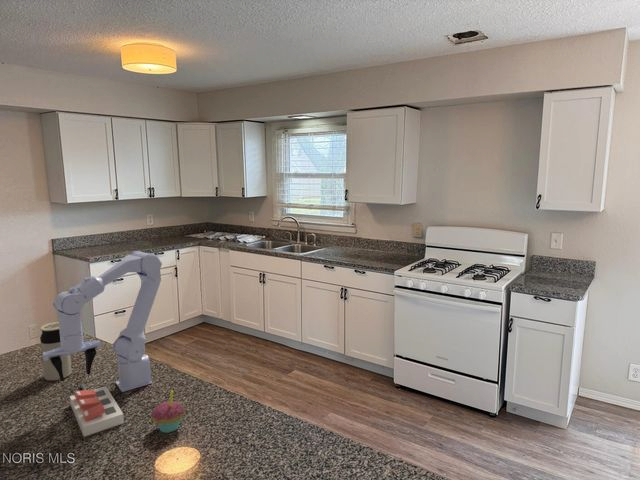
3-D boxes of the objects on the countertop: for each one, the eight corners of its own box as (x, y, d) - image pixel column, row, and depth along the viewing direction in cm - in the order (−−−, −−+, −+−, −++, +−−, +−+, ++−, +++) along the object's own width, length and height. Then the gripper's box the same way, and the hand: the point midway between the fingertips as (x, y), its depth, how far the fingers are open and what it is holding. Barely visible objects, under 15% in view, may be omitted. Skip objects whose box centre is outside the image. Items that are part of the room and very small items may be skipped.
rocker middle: (97, 401, 126) (97, 396, 126) (100, 406, 123) (100, 402, 123) (78, 403, 123) (78, 399, 123) (80, 409, 120) (81, 404, 120)
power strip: (99, 381, 143) (98, 373, 143) (123, 423, 120) (123, 413, 120) (64, 391, 137) (63, 382, 137) (83, 436, 114) (82, 426, 113)
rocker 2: (102, 406, 121) (101, 402, 121) (105, 412, 119) (104, 408, 118) (83, 415, 119) (82, 411, 118) (86, 421, 116) (84, 417, 115)
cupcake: (191, 422, 120) (189, 382, 118) (171, 440, 112) (169, 397, 111) (165, 416, 123) (163, 377, 121) (144, 433, 115) (142, 392, 113)
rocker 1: (92, 393, 131) (93, 388, 131) (95, 397, 128) (96, 393, 128) (74, 395, 127) (74, 391, 127) (76, 400, 125) (77, 395, 125)
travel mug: (76, 374, 149) (71, 324, 146) (51, 383, 142) (46, 331, 139) (64, 368, 153) (59, 320, 150) (40, 377, 147) (34, 327, 144)
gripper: (95, 323, 133) (99, 364, 135) (40, 334, 124) (44, 378, 126) (100, 330, 127) (104, 373, 129) (43, 342, 118) (48, 388, 120)
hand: (75, 376), depth 127 cm, fingers open, 6 cm apart
